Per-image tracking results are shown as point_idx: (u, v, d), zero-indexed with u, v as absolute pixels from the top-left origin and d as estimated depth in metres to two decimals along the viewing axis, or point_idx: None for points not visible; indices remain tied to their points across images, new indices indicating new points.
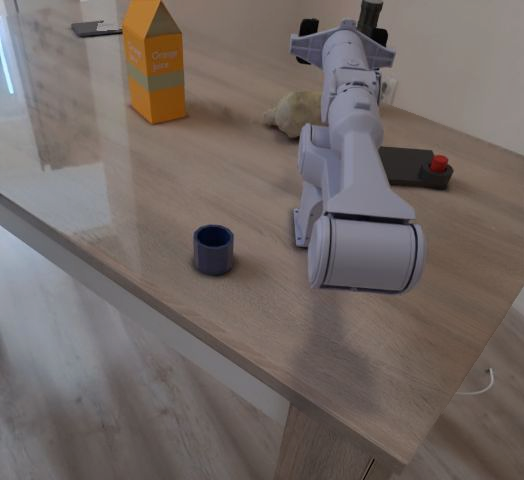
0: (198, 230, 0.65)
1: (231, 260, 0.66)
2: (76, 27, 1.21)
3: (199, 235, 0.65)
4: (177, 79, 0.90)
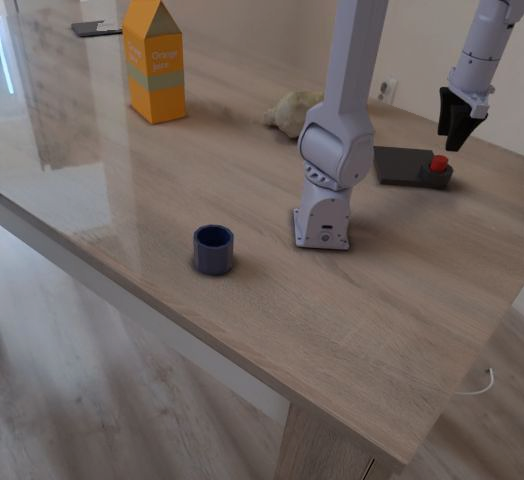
0: (198, 230, 0.65)
1: (231, 260, 0.66)
2: (76, 27, 1.21)
3: (199, 235, 0.65)
4: (177, 79, 0.90)
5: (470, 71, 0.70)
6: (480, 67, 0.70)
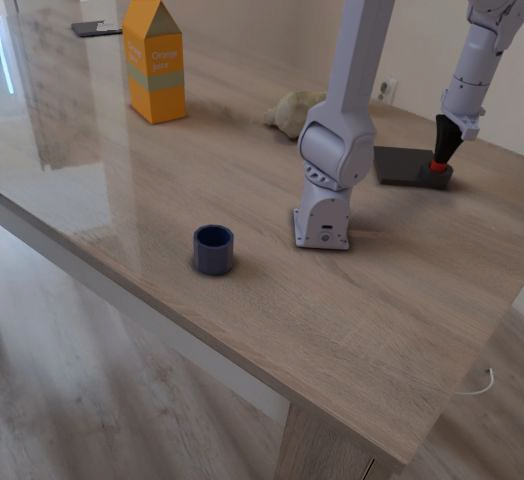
0: (198, 230, 0.65)
1: (231, 260, 0.66)
2: (76, 27, 1.21)
3: (199, 235, 0.65)
4: (177, 79, 0.90)
5: (461, 95, 0.73)
6: (471, 92, 0.72)
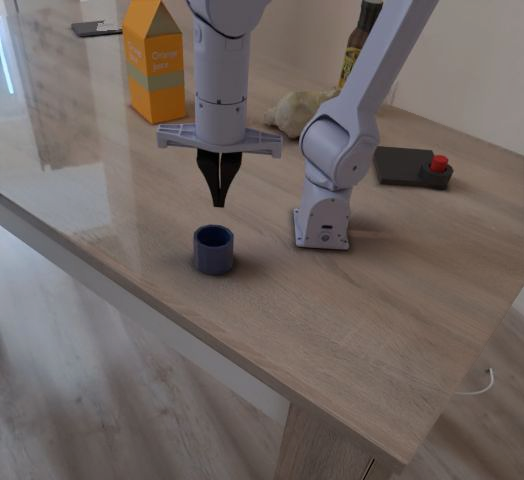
0: (198, 230, 0.65)
1: (231, 260, 0.66)
2: (76, 27, 1.21)
3: (199, 235, 0.65)
4: (177, 79, 0.90)
5: (240, 119, 0.52)
6: (245, 107, 0.52)
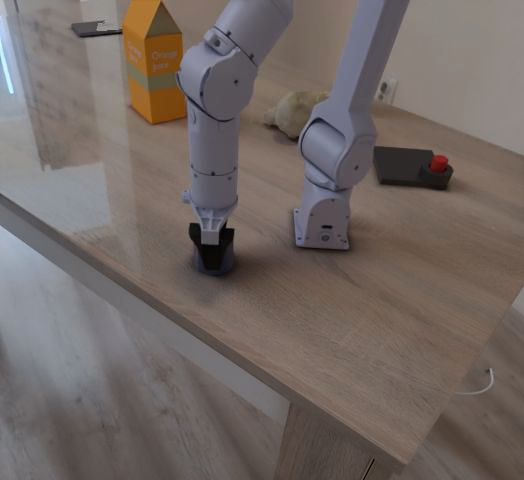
0: None
1: (231, 260, 0.66)
2: (76, 27, 1.21)
3: None
4: None
5: None
6: None
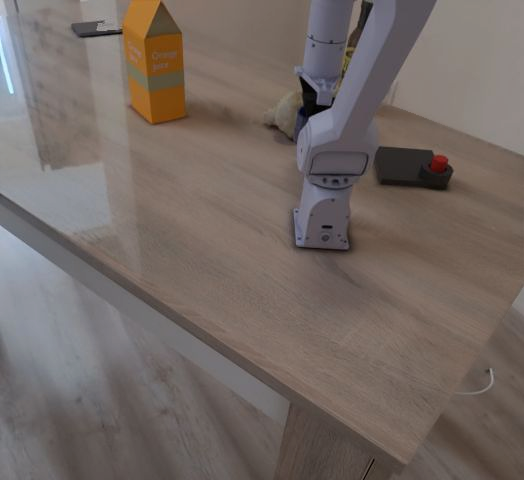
0: (300, 108, 0.76)
1: None
2: (76, 27, 1.21)
3: (300, 113, 0.76)
4: (177, 79, 0.90)
5: None
6: None
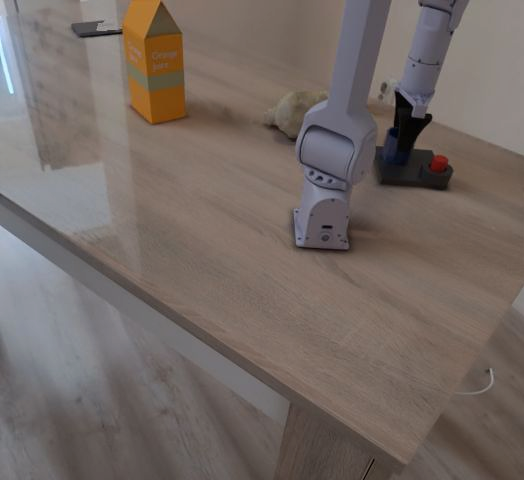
0: (389, 129, 0.87)
1: (410, 154, 0.88)
2: (76, 27, 1.21)
3: (389, 133, 0.87)
4: (177, 79, 0.90)
5: None
6: None
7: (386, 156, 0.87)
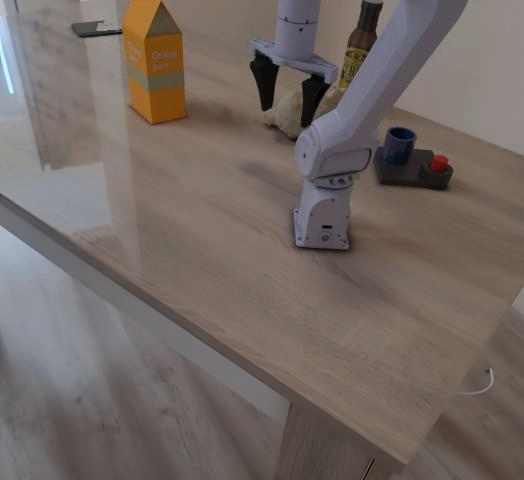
0: (389, 129, 0.87)
1: (410, 154, 0.88)
2: (76, 27, 1.21)
3: (389, 133, 0.87)
4: (177, 79, 0.90)
5: None
6: None
7: (386, 156, 0.87)
